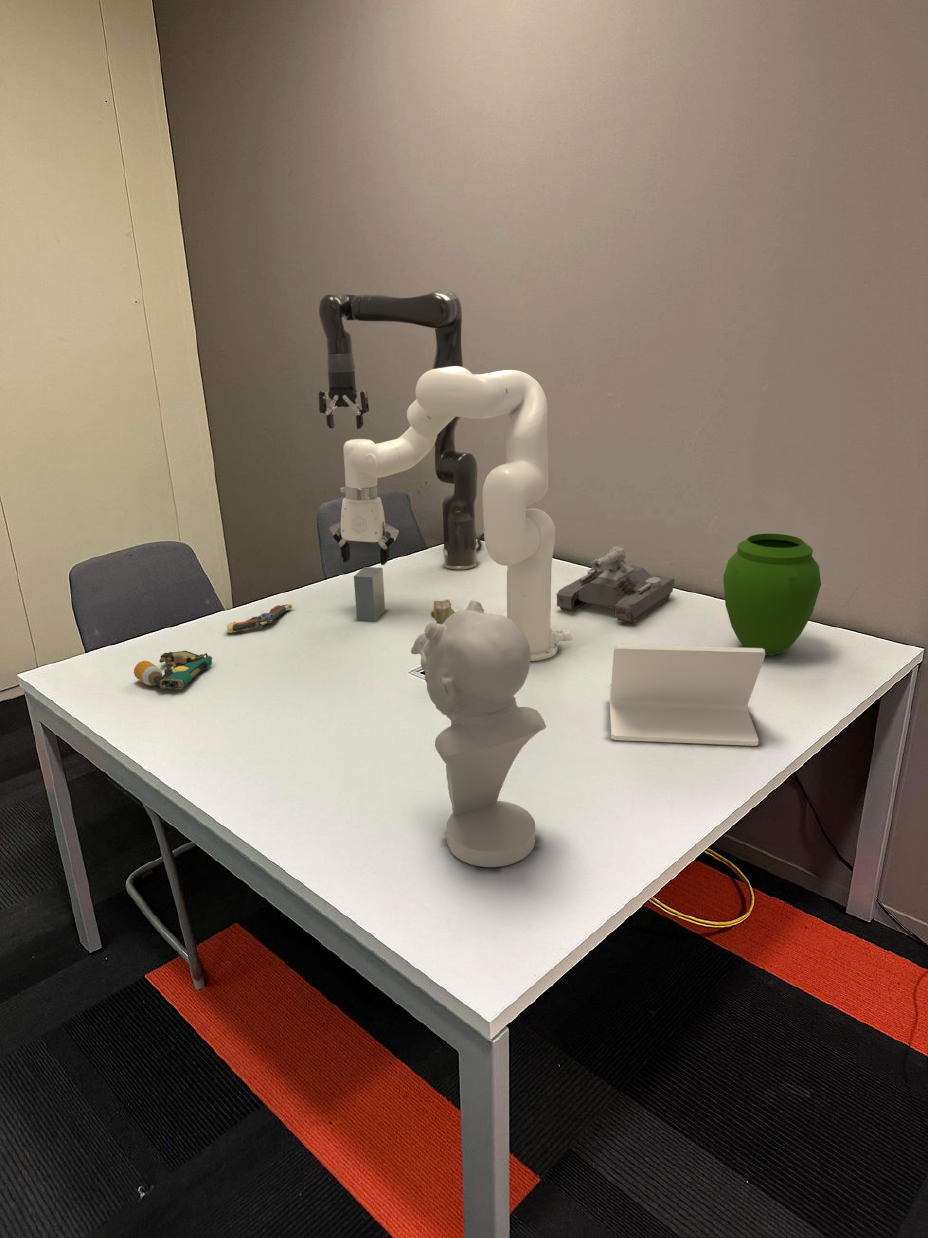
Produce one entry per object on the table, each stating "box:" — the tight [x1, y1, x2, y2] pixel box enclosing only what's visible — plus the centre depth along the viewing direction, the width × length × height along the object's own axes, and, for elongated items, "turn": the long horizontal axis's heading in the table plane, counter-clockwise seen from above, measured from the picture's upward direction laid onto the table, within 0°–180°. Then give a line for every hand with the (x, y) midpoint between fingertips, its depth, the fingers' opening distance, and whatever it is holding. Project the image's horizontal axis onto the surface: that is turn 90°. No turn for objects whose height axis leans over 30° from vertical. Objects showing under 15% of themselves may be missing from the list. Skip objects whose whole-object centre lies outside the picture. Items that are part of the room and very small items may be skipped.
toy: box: [556, 546, 676, 624], centre depth 212 cm, size 25×20×15 cm
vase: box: [722, 533, 822, 656], centre depth 181 cm, size 20×20×24 cm
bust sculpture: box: [410, 599, 547, 868], centre depth 121 cm, size 16×24×35 cm
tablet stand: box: [609, 643, 766, 747], centre depth 153 cm, size 18×25×17 cm
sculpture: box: [430, 599, 456, 624], centre depth 177 cm, size 6×7×15 cm
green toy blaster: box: [133, 650, 213, 690], centre depth 180 cm, size 4×17×15 cm
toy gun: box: [226, 603, 293, 634], centre depth 210 cm, size 3×19×10 cm
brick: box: [353, 566, 386, 622], centre depth 210 cm, size 5×8×11 cm, turn 166°
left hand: (345, 428), depth 246 cm, fingers open, 8 cm apart
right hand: (365, 562), depth 208 cm, fingers open, 9 cm apart
